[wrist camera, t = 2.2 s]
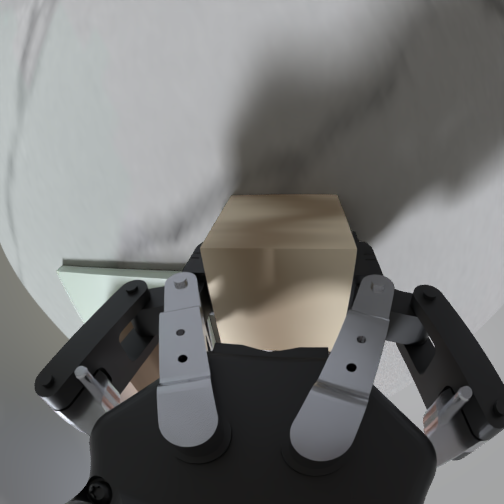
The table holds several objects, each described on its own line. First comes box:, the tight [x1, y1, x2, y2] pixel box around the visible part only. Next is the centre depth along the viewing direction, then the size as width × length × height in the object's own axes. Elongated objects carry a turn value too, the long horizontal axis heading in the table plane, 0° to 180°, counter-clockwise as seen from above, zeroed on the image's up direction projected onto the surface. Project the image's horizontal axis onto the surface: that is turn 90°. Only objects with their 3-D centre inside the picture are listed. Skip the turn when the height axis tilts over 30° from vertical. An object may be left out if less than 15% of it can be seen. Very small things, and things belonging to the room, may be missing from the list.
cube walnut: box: [119, 321, 160, 404], centre depth 17 cm, size 5×5×5 cm
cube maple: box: [200, 194, 357, 351], centre depth 12 cm, size 5×5×5 cm
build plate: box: [56, 266, 216, 348], centre depth 19 cm, size 12×12×1 cm
